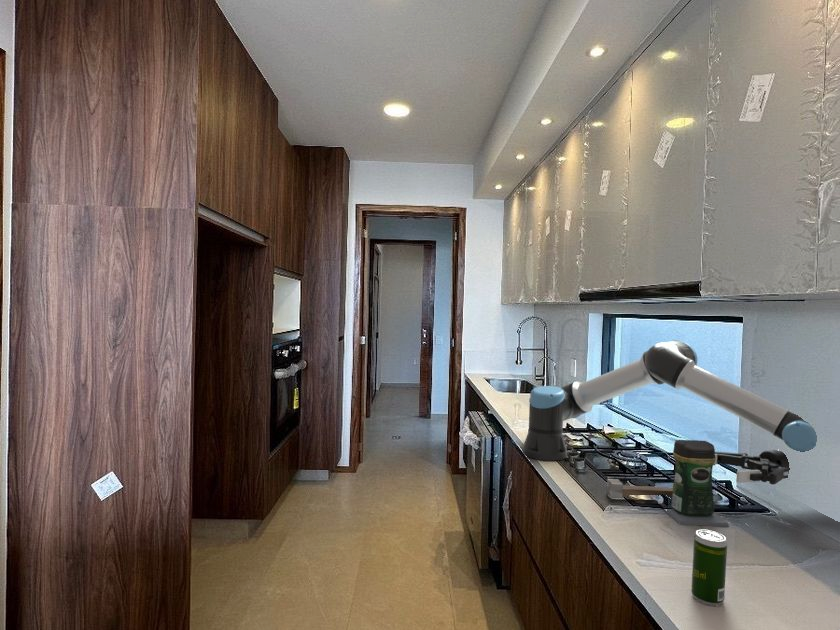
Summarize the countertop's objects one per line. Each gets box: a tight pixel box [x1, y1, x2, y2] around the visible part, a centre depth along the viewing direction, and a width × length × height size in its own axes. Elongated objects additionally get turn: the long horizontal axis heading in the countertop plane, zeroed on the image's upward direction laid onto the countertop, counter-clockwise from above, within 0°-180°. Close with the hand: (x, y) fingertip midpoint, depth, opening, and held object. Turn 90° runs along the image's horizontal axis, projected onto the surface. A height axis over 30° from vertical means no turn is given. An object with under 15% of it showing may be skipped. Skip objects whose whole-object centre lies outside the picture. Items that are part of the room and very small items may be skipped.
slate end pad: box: [666, 509, 730, 527], centre depth 139 cm, size 13×12×1 cm
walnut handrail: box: [606, 478, 673, 498], centre depth 149 cm, size 4×24×4 cm, turn 88°
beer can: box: [690, 529, 728, 607], centre depth 99 cm, size 5×5×12 cm
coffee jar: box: [671, 439, 716, 516], centre depth 139 cm, size 10×8×19 cm
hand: (716, 468), depth 140 cm, fingers open, 13 cm apart
